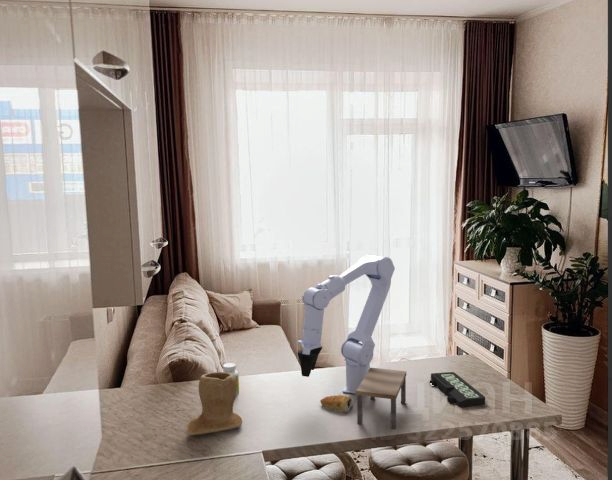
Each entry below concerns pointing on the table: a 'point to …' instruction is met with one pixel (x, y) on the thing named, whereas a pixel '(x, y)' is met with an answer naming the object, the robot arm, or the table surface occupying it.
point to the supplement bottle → (231, 369)
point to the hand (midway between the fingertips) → (308, 372)
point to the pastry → (337, 403)
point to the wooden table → (382, 389)
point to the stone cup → (216, 404)
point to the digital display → (457, 389)
